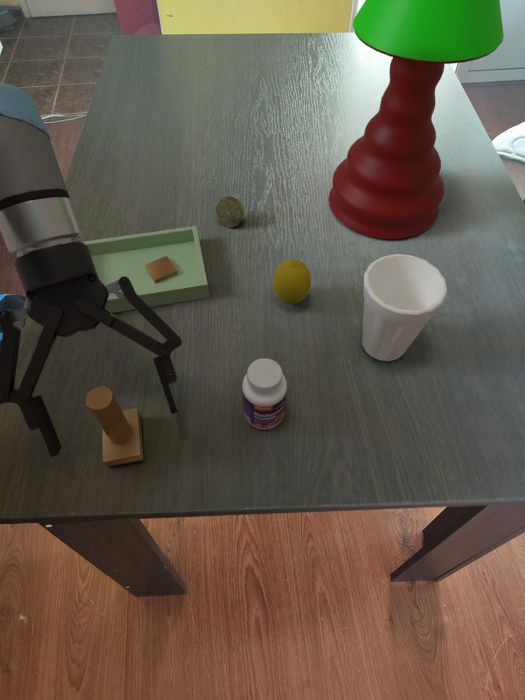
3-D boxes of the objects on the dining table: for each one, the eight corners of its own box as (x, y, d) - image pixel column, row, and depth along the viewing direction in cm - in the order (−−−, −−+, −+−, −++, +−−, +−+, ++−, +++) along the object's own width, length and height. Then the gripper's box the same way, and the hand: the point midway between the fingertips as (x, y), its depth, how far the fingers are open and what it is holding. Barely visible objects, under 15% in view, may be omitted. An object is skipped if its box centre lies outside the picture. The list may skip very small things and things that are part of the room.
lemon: (290, 281, 74) (293, 243, 68) (316, 301, 72) (321, 263, 65) (265, 299, 72) (265, 262, 65) (290, 320, 70) (293, 283, 63)
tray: (80, 318, 70) (74, 305, 68) (82, 256, 78) (76, 242, 75) (209, 297, 72) (207, 284, 70) (198, 239, 80) (196, 225, 77)
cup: (342, 319, 70) (356, 255, 59) (408, 315, 70) (434, 250, 59) (355, 376, 64) (373, 316, 53) (426, 371, 64) (459, 311, 54)
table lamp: (406, 164, 92) (501, -177, 55) (458, 228, 81) (619, -143, 44) (312, 182, 89) (346, -167, 52) (353, 251, 78) (433, -128, 41)
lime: (246, 229, 81) (245, 205, 77) (218, 232, 81) (216, 208, 77) (242, 212, 84) (241, 189, 80) (216, 215, 83) (213, 191, 79)
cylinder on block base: (108, 469, 56) (77, 428, 47) (107, 422, 60) (78, 376, 51) (144, 462, 57) (121, 420, 48) (141, 416, 61) (119, 369, 51)
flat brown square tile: (155, 283, 73) (154, 280, 73) (145, 268, 75) (144, 264, 75) (178, 273, 74) (177, 270, 74) (167, 259, 76) (166, 255, 76)
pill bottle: (253, 437, 59) (252, 399, 51) (237, 402, 62) (233, 362, 54) (292, 421, 60) (296, 382, 52) (274, 388, 63) (276, 346, 55)
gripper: (162, 223, 55) (214, 387, 60) (-63, 282, 50) (12, 458, 54) (166, 213, 48) (225, 401, 52) (-97, 282, 43) (-7, 484, 47)
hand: (117, 431), depth 53 cm, fingers open, 13 cm apart
